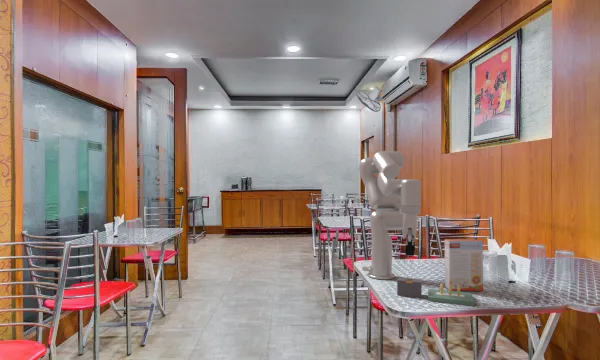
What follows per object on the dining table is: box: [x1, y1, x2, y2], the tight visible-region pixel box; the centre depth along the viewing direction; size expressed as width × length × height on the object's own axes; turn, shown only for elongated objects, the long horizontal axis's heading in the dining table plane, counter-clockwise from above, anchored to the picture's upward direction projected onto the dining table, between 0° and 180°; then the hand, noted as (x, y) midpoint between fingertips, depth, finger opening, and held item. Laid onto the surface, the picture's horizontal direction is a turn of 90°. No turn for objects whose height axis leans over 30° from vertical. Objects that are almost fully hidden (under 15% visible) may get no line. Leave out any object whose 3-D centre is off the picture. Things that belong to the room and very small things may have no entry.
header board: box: [427, 283, 476, 307], centre depth 140 cm, size 16×12×6 cm
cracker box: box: [444, 238, 484, 292], centre depth 154 cm, size 14×6×21 cm, turn 89°
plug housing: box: [396, 277, 423, 299], centre depth 145 cm, size 9×5×6 cm, turn 71°
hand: (410, 253), depth 145 cm, fingers open, 9 cm apart
